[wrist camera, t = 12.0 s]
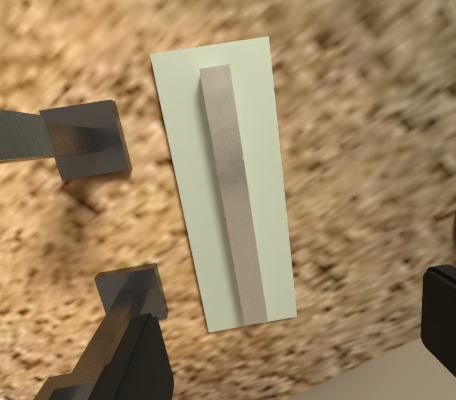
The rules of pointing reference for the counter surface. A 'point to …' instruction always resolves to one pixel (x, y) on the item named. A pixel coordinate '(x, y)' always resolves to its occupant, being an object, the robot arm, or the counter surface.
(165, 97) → the board
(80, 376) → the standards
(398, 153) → the counter surface
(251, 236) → the rail
